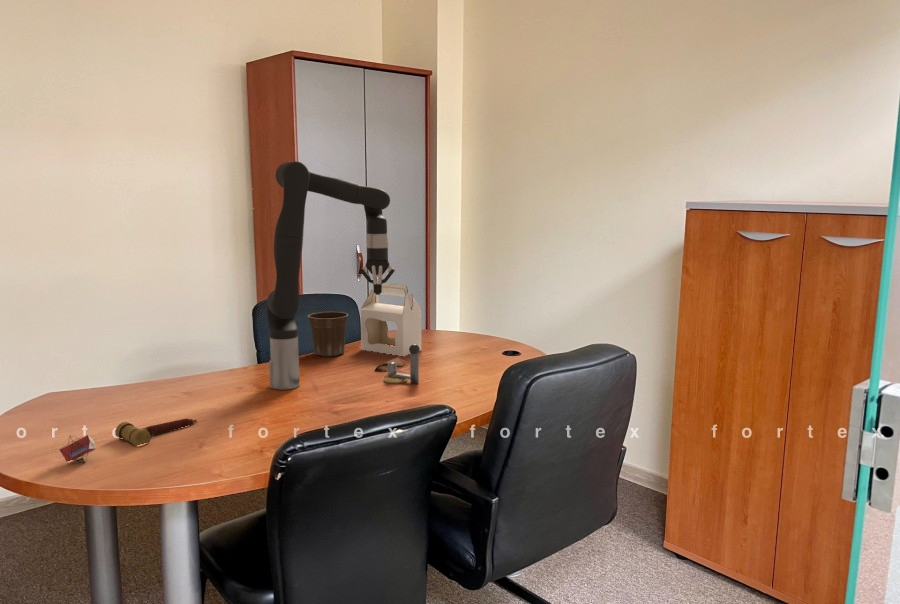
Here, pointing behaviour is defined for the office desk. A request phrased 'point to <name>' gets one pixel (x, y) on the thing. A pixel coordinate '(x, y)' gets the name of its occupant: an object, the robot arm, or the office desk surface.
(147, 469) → the office desk surface
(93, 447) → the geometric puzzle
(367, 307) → the gable box
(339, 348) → the plant pot
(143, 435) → the gavel
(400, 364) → the sunglasses case
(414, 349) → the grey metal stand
